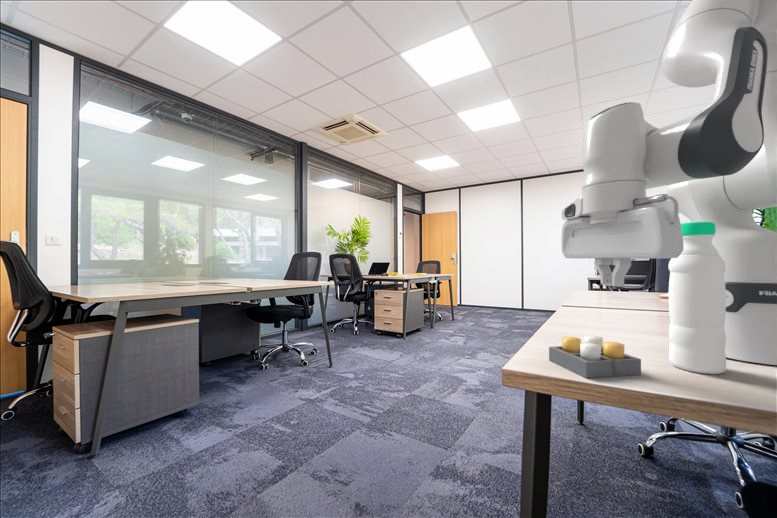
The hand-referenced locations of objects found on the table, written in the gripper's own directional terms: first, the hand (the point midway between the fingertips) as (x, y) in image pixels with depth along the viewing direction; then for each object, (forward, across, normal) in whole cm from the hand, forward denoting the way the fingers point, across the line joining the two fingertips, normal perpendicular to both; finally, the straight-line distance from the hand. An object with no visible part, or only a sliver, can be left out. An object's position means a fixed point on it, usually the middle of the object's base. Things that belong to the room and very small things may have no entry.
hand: (612, 285), depth 53 cm
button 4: (+12, 0, 0) cm, 13 cm away
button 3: (+12, +4, 0) cm, 13 cm away
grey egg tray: (+14, +2, +2) cm, 15 cm away
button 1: (+13, +4, +4) cm, 14 cm away
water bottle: (+14, -1, -15) cm, 21 cm away
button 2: (+13, 0, +4) cm, 13 cm away
